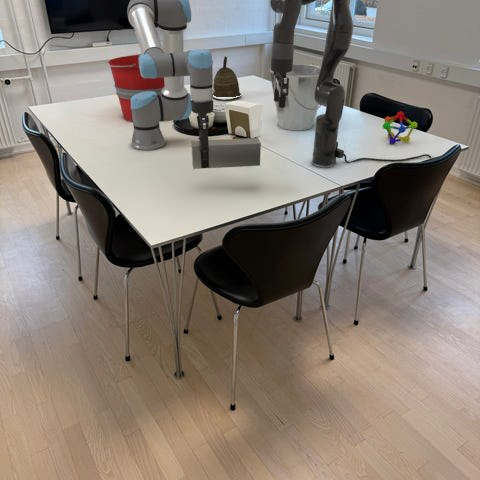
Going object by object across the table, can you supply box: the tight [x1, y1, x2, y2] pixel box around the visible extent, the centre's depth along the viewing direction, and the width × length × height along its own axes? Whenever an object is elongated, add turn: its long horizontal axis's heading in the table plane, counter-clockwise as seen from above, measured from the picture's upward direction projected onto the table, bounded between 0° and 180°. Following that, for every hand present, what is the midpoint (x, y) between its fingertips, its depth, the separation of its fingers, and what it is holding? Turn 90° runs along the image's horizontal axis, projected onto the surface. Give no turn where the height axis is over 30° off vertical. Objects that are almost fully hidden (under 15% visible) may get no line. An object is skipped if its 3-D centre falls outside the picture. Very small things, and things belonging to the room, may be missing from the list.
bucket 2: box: [269, 63, 322, 131], centre depth 226 cm, size 30×30×28 cm
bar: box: [190, 137, 262, 170], centre depth 160 cm, size 24×6×9 cm, turn 98°
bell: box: [212, 56, 242, 97], centre depth 278 cm, size 19×26×20 cm
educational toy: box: [382, 110, 418, 145], centre depth 207 cm, size 16×13×15 cm
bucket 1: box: [105, 53, 165, 123], centre depth 239 cm, size 35×35×30 cm
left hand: (204, 164), depth 161 cm, fingers closed on bar, 6 cm apart
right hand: (279, 104), depth 160 cm, fingers open, 8 cm apart
